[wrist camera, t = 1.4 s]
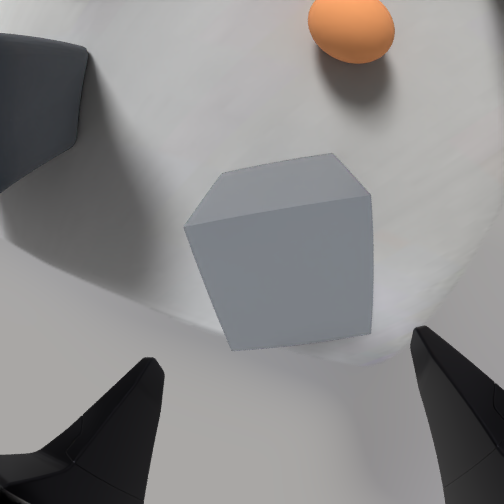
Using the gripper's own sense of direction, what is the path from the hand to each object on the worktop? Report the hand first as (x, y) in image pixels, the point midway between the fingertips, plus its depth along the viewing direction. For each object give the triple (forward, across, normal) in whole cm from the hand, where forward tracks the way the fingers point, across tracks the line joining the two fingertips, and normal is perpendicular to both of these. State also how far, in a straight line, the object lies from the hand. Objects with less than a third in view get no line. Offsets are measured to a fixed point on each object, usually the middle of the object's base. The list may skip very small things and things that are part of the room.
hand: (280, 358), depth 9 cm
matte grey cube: (+13, 0, 0) cm, 13 cm away
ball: (+11, -7, -12) cm, 17 cm away
